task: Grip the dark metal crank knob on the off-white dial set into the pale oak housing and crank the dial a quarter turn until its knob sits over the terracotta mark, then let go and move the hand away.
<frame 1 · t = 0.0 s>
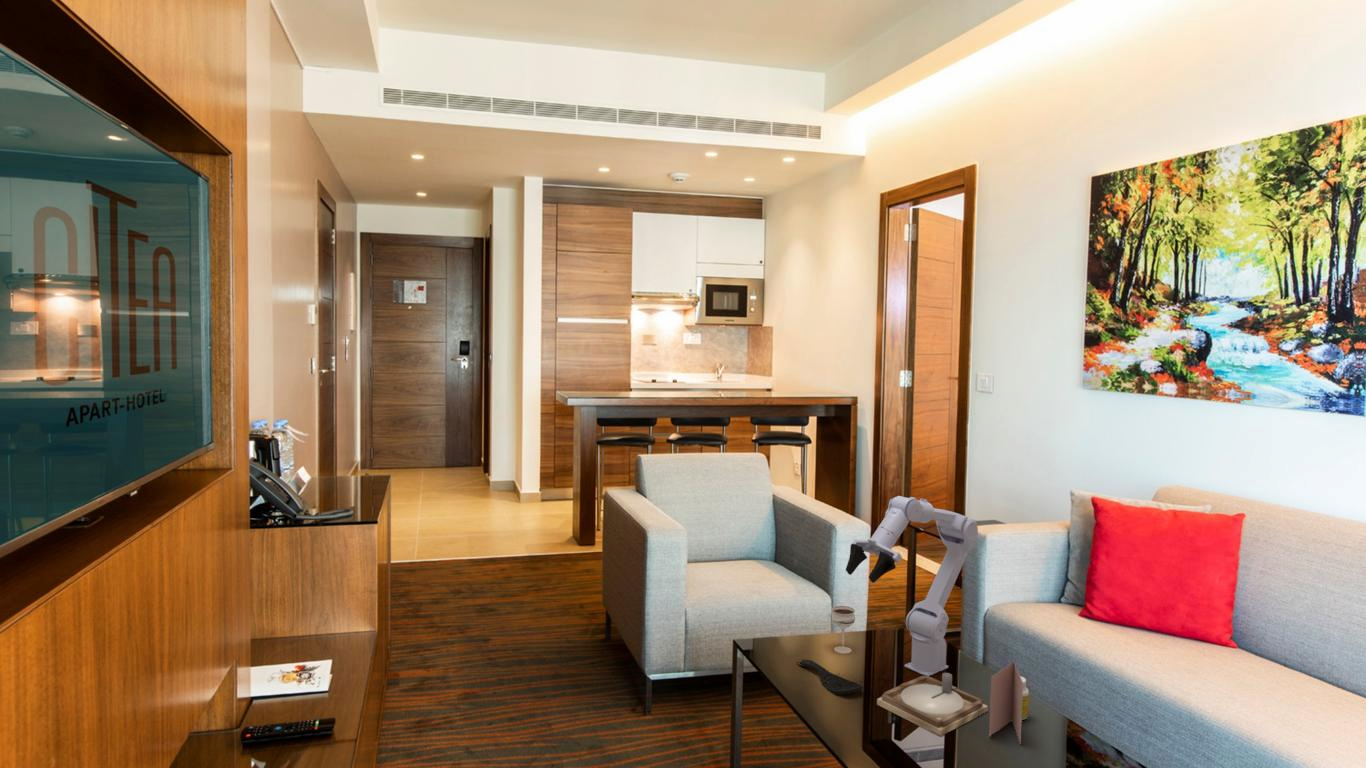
hand: (859, 576, 210), 32 cm above the table, tool tilted 50°, fingers open, 7 cm apart
dial housing: (931, 708, 208), on the table
greeting card: (1012, 734, 196), on the table
dial: (932, 691, 208), point 4 cm above the table, hinge at 0.0°
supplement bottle: (1015, 717, 204), on the table
wineglass: (842, 650, 243), on the table
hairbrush: (826, 681, 224), on the table
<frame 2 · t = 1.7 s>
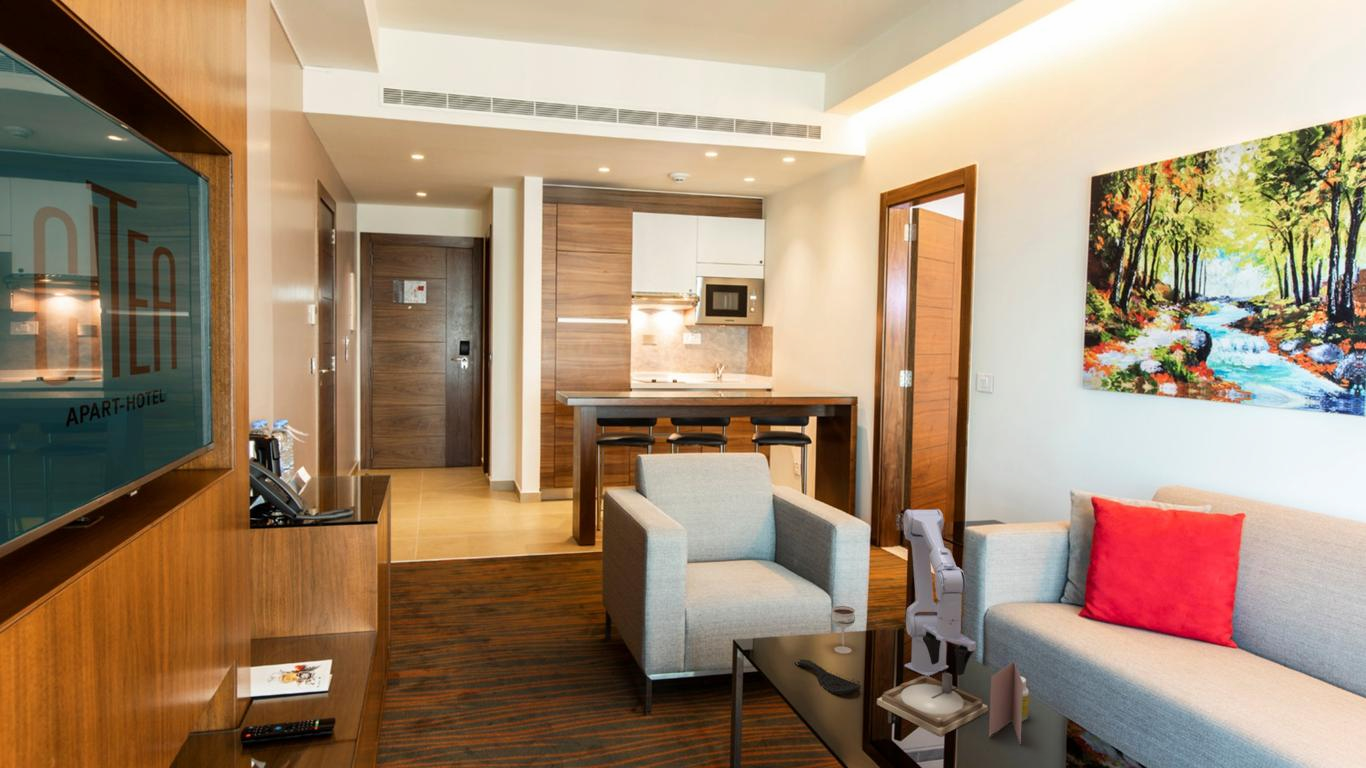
hand: (947, 668, 211), 9 cm above the table, tool pointing down, fingers open, 7 cm apart
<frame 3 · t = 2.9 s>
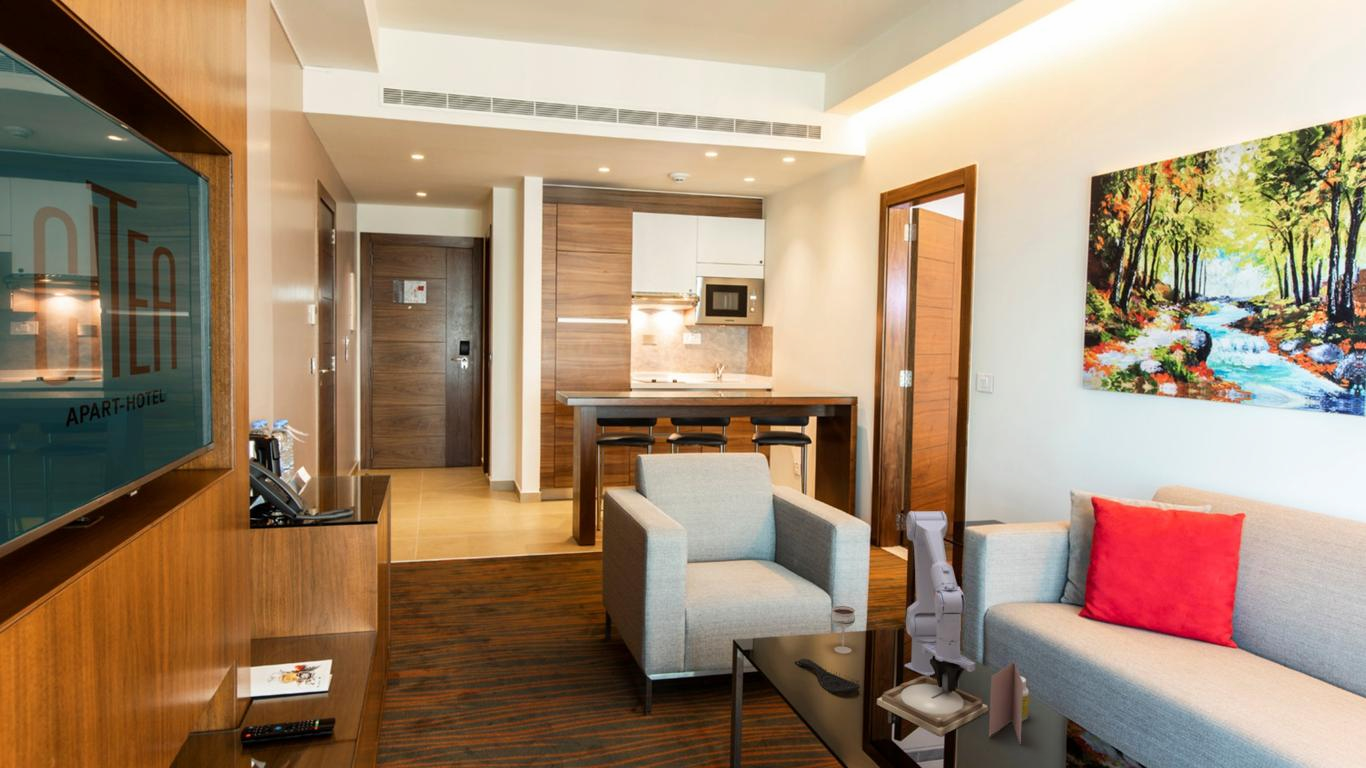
hand: (946, 688, 211), 3 cm above the table, tool pointing down, fingers closed on dial, 2 cm apart
dial: (932, 691, 208), point 4 cm above the table, hinge at 0.0°, touching gripper
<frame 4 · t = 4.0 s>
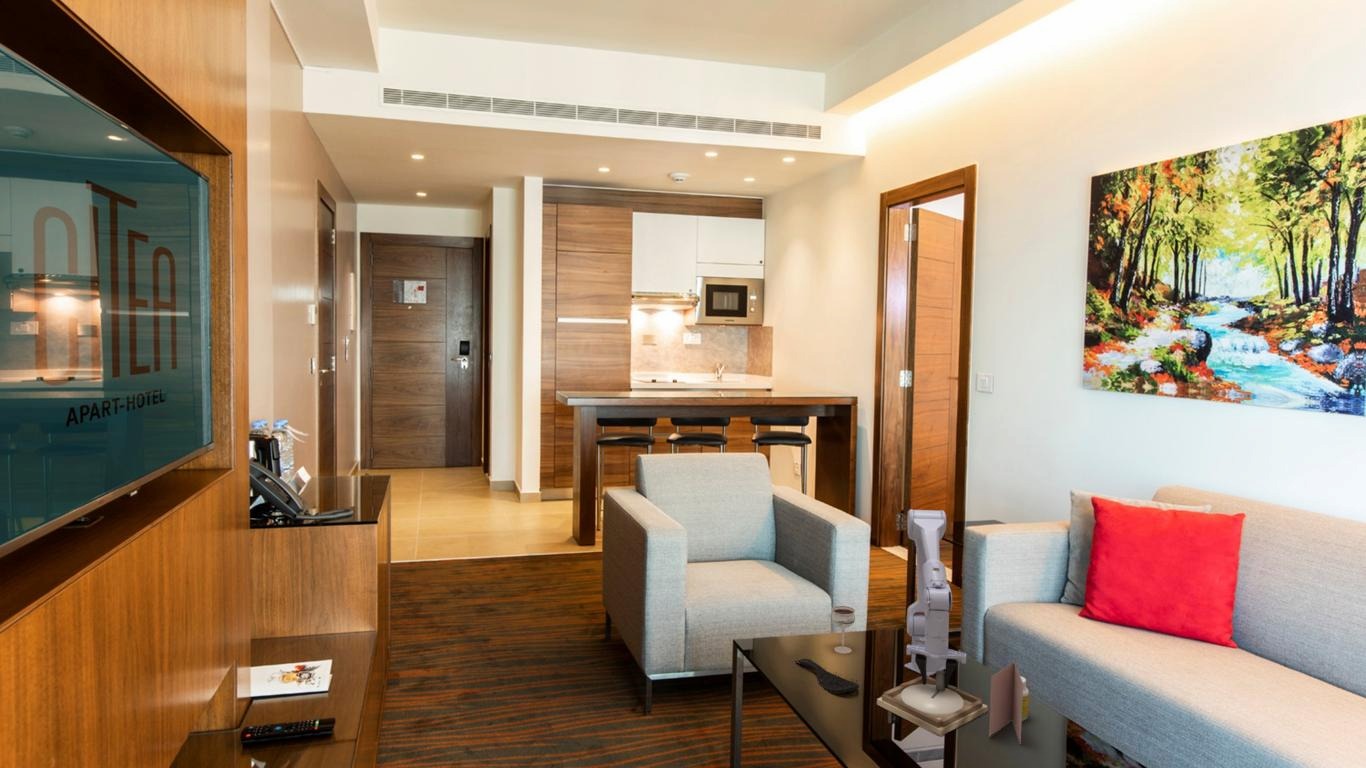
hand: (935, 684, 213), 4 cm above the table, tool pointing down, fingers open, 5 cm apart
dial: (932, 691, 208), point 4 cm above the table, hinge at 16.3°, touching gripper
everything else where it was.
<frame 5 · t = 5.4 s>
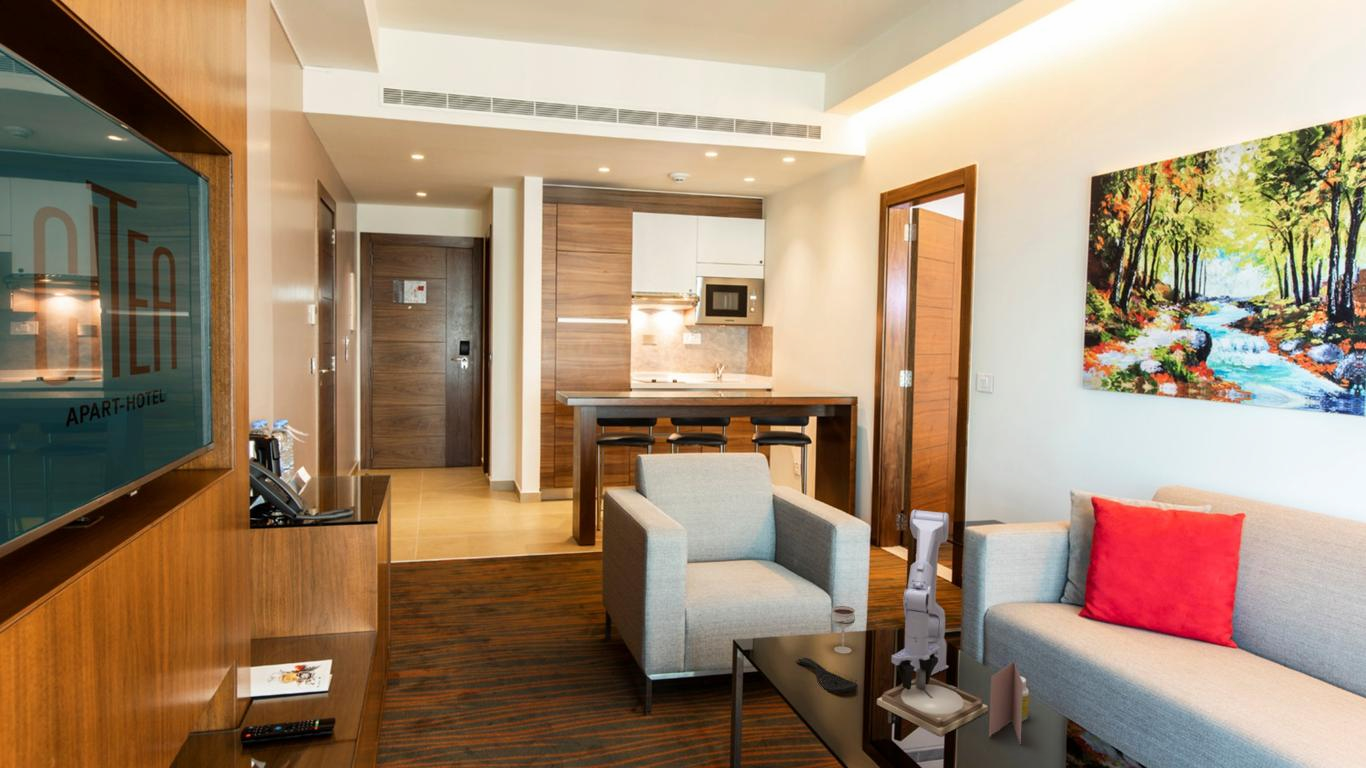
hand: (915, 685, 213), 3 cm above the table, tool pointing down, fingers open, 5 cm apart
dial: (932, 691, 208), point 4 cm above the table, hinge at 64.9°, touching gripper
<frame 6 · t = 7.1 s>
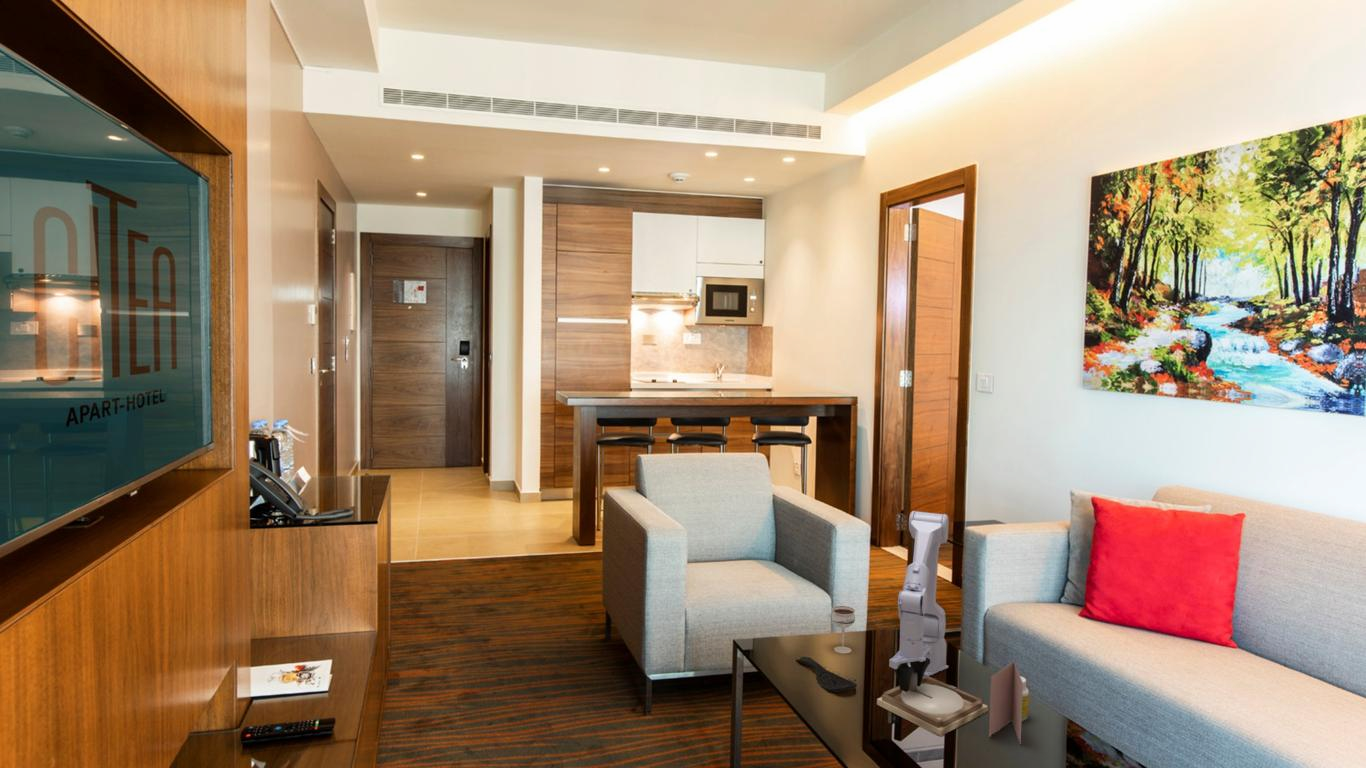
hand: (910, 687, 212), 3 cm above the table, tool pointing down, fingers open, 4 cm apart
dial: (932, 691, 208), point 4 cm above the table, hinge at 90.7°, touching gripper
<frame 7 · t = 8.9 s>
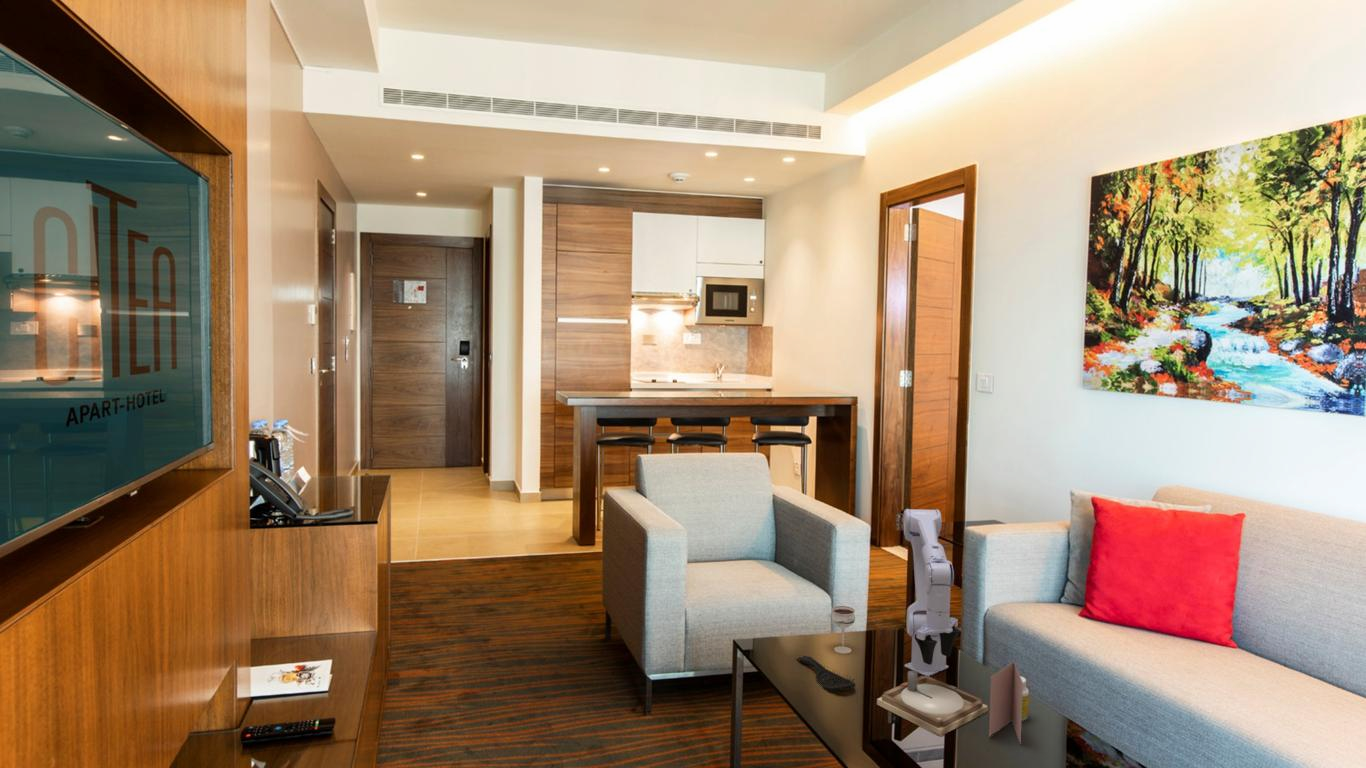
hand: (936, 659, 215), 9 cm above the table, tool pointing down, fingers open, 7 cm apart
dial: (932, 691, 208), point 4 cm above the table, hinge at 90.7°
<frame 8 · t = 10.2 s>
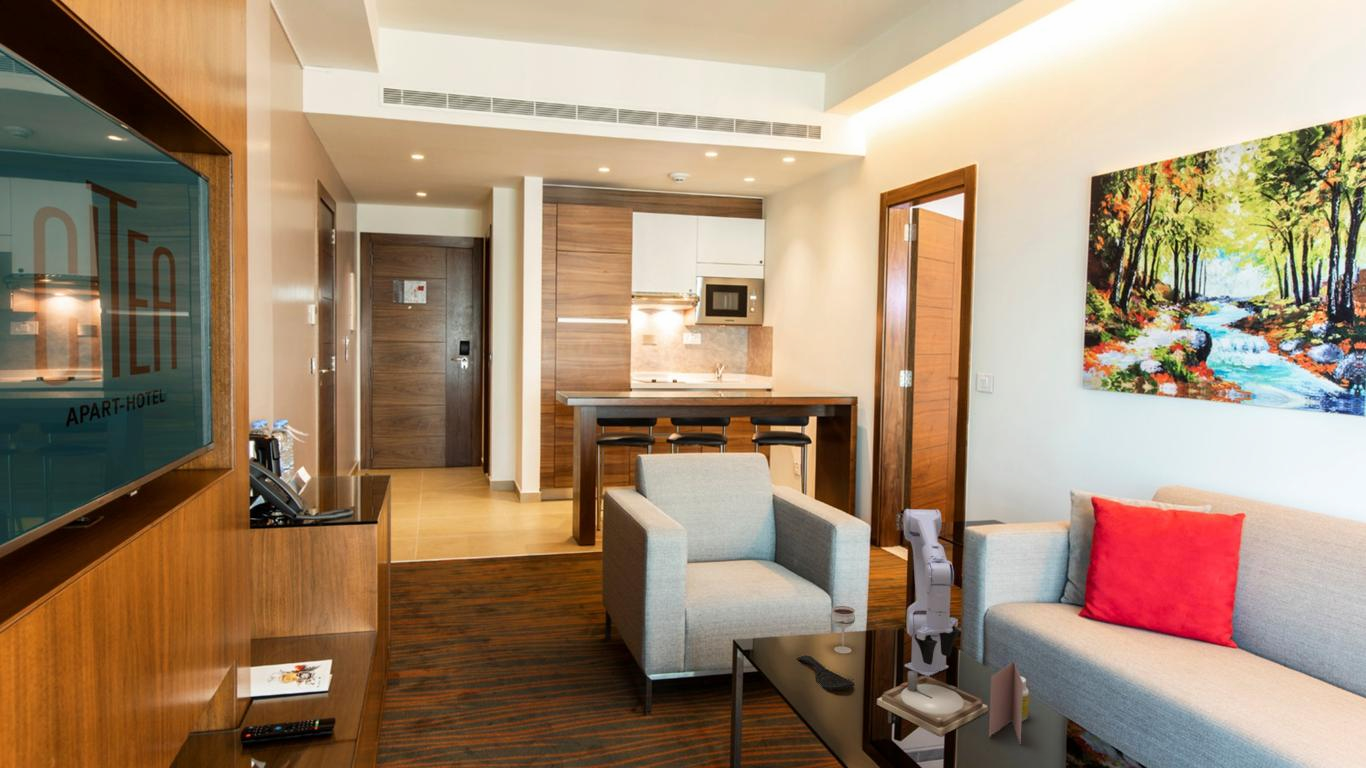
hand: (936, 659, 215), 9 cm above the table, tool pointing down, fingers open, 7 cm apart
at the end: dial at +91° (first picture: +0°); the gripper is holding nothing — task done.
